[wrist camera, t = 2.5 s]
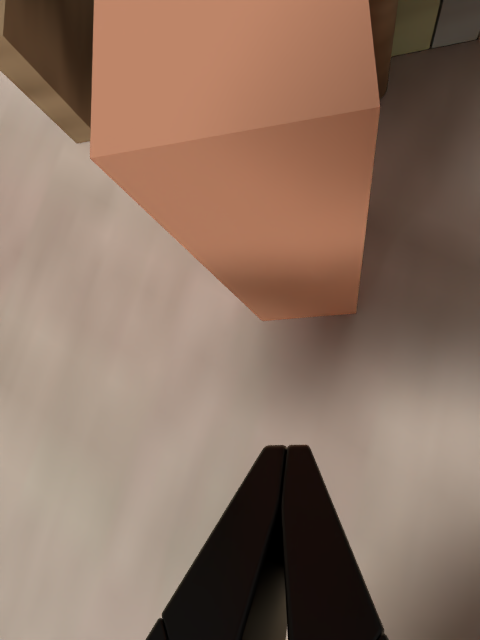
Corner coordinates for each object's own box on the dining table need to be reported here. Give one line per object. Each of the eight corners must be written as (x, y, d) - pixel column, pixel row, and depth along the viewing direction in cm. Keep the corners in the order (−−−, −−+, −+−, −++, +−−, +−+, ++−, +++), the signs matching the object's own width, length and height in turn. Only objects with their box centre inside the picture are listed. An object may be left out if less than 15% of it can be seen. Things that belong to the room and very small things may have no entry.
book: (356, 313, 16) (380, 106, 5) (262, 321, 17) (90, 158, 6) (338, 118, 18) (325, -396, 6) (252, 133, 19) (101, -302, 7)
